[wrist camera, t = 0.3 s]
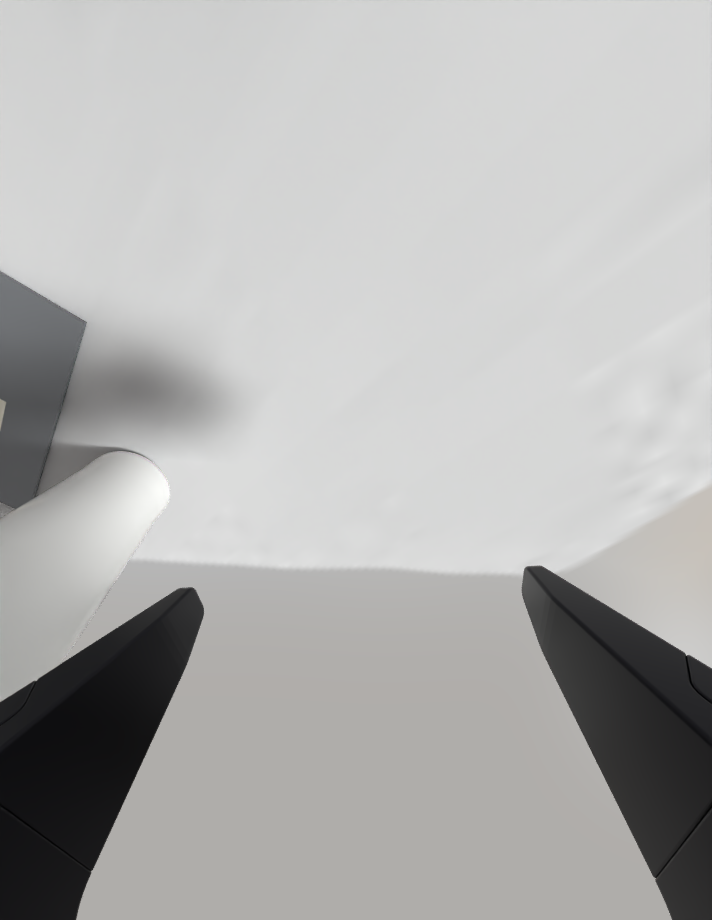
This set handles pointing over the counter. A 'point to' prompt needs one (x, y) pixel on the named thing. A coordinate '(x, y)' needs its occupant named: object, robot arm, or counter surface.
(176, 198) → the counter surface
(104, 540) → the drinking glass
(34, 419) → the board
